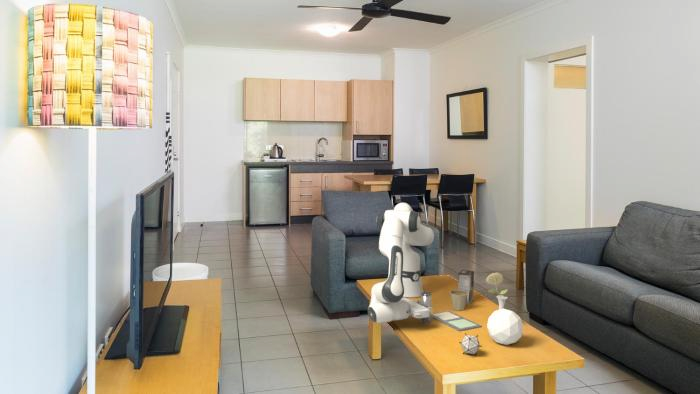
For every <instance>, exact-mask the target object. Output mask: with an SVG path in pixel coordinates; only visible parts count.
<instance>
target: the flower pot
mask: <svg viewBox="0 0 700 394" xmlns="http://www.w3.org/2000/svg"><path fill="white" fill-rule="evenodd" d="M449 294H450V297H451V298H450V299H451V306H452V307H451V308H452V310H454V311H458V312H460V311H465V309H466V308H465V307H466V305H467V304H466V298H467V295H468V292H466V291H462V290H458V289H453V290H450V291H449Z"/></svg>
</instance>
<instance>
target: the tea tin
mask: <svg viewBox="0 0 700 394" xmlns="http://www.w3.org/2000/svg"><path fill="white" fill-rule="evenodd" d="M420 302H421V305H422V306H424V307H426V308H428V307H430V306H431V307H432V304H431V303H432V292H431V291H424V292H421V296H420ZM431 312H432V311H430V316H431V314H432V313H431ZM430 316H429V317H426V318H420V323H422V324H424V323H427V325H428V324H431V317H430Z"/></svg>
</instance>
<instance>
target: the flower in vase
mask: <svg viewBox="0 0 700 394" xmlns="http://www.w3.org/2000/svg"><path fill="white" fill-rule="evenodd" d="M503 276H504V275H503V274H500V273H499V272H495V273H494V272H492V273H490V274H489V275H488V276H487V277H486V279H485V281H486V284H488V285H490V286H495V289H494V288H493V289H490V290H488V291H487V293H489V294H492V295H493V294H495V293H498V295H496V297H495V298H496V299H497V301H498V310H501V309H505V304H506V301H507V299H508V296H506V295H504V294H506V293H507V292H508V288H507V289H504V290H503V289H502V290H501V291H500V292H499V291H498V288H497V287H498V285H500V284H502V282H503V281H504V277H503Z"/></svg>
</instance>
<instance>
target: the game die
mask: <svg viewBox="0 0 700 394" xmlns="http://www.w3.org/2000/svg"><path fill="white" fill-rule="evenodd" d="M464 335H465V336H464V337H463V339H462V340H461V341H459V344H460V345H461V348H462V351H463V353H462V354H463V355H464V354H470V355H474V356H475V357H476V356H477V352H478V351H479V349H480V348H482V347H483V345H481V344H480V341H479V339H478V337H479V334H477V335H471V334H467V333H466V332H465V333H464Z"/></svg>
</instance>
